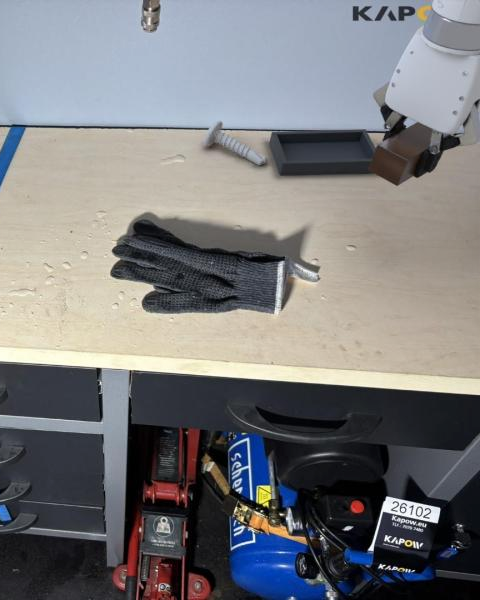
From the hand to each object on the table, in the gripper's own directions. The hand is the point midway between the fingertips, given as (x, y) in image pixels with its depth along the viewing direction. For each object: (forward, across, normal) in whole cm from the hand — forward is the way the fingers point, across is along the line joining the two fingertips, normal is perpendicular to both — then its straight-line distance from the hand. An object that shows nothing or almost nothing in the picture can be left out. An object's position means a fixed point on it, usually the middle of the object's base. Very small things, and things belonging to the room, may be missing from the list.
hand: (404, 162), depth 80 cm
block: (0, 0, 0) cm, 0 cm away
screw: (+15, +30, -1) cm, 33 cm away
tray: (+15, +19, -12) cm, 27 cm away
